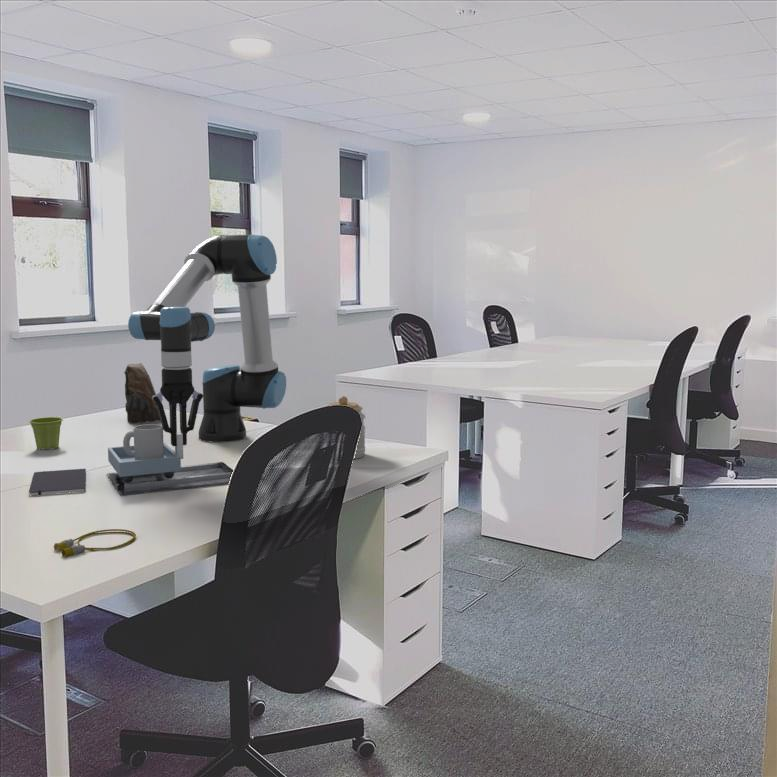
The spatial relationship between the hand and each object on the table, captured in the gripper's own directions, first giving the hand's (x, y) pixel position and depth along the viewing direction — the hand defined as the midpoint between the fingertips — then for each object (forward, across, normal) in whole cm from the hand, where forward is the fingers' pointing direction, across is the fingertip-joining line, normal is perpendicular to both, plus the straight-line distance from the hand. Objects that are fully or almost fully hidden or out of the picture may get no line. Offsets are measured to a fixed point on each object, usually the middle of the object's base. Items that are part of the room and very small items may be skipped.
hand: (179, 457), depth 217 cm
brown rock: (+6, -8, -90) cm, 90 cm away
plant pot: (+6, +28, -54) cm, 61 cm away
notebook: (+6, +29, -8) cm, 30 cm away
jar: (+6, -49, -7) cm, 50 cm away
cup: (0, +9, -1) cm, 9 cm away
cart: (+4, +9, 0) cm, 10 cm away
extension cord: (+6, +27, +44) cm, 52 cm away
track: (+6, +2, 0) cm, 6 cm away
